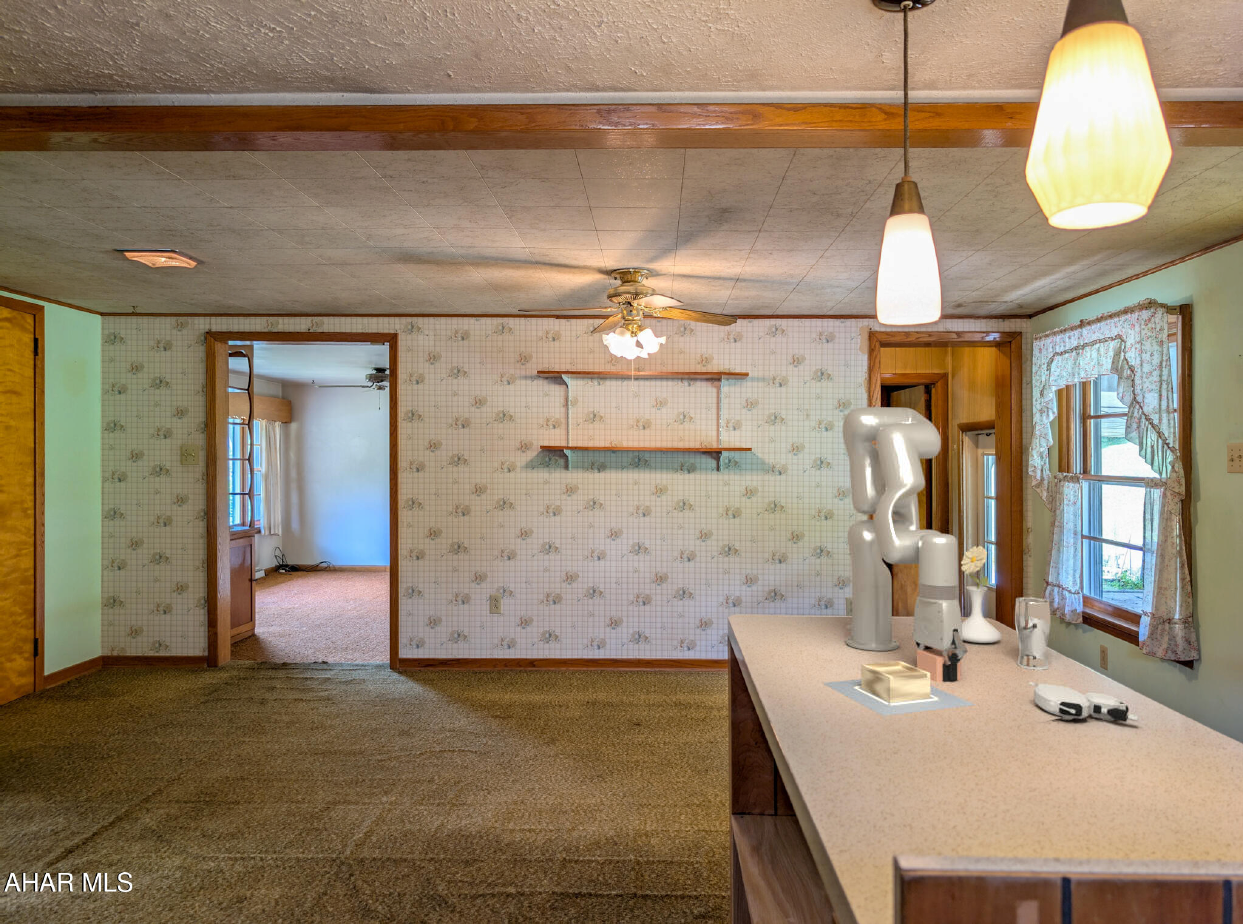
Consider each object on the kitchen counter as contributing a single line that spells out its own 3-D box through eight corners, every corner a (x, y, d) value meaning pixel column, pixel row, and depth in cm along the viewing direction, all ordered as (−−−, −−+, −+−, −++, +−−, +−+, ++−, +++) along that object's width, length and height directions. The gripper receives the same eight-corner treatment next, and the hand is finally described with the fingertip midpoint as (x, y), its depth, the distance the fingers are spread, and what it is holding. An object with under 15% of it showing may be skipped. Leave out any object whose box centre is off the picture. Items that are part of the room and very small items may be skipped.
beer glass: (1041, 662, 166) (1041, 597, 166) (1056, 670, 160) (1056, 603, 160) (1010, 661, 167) (1009, 596, 167) (1023, 670, 160) (1023, 602, 160)
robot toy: (1113, 713, 135) (1024, 701, 139) (1115, 689, 135) (1026, 677, 139) (1142, 737, 124) (1045, 723, 127) (1144, 711, 123) (1047, 697, 127)
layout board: (822, 687, 148) (822, 682, 148) (905, 679, 154) (905, 674, 154) (883, 721, 129) (883, 714, 129) (975, 709, 135) (975, 704, 135)
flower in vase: (947, 634, 193) (947, 541, 193) (994, 636, 191) (993, 542, 191) (960, 646, 181) (959, 547, 181) (1010, 649, 178) (1009, 547, 178)
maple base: (861, 688, 144) (861, 664, 144) (899, 684, 147) (899, 660, 147) (890, 702, 136) (890, 677, 136) (930, 698, 138) (930, 673, 138)
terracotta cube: (917, 678, 155) (916, 650, 155) (940, 675, 156) (940, 648, 156) (936, 686, 149) (936, 657, 149) (960, 684, 151) (960, 655, 151)
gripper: (896, 586, 160) (897, 668, 160) (952, 600, 143) (953, 691, 143) (925, 585, 162) (925, 665, 162) (983, 598, 145) (984, 688, 145)
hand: (938, 676), depth 153 cm, fingers closed on terracotta cube, 6 cm apart
